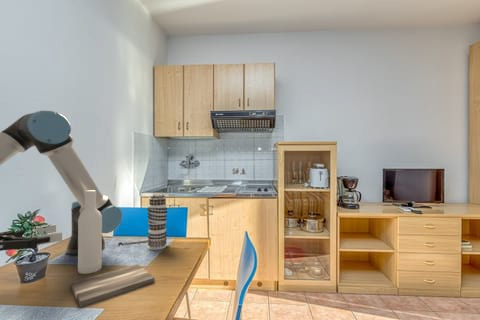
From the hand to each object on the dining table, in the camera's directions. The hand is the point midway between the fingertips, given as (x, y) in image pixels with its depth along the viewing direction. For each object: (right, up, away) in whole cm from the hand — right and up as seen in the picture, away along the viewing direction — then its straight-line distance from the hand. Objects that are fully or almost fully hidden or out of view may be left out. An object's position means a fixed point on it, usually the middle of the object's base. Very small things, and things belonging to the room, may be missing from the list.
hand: (58, 232), depth 90 cm
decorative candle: (+24, -16, +32) cm, 44 cm away
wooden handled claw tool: (+15, -17, +37) cm, 43 cm away
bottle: (+7, -16, +7) cm, 19 cm away
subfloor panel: (+21, -16, -4) cm, 27 cm away
